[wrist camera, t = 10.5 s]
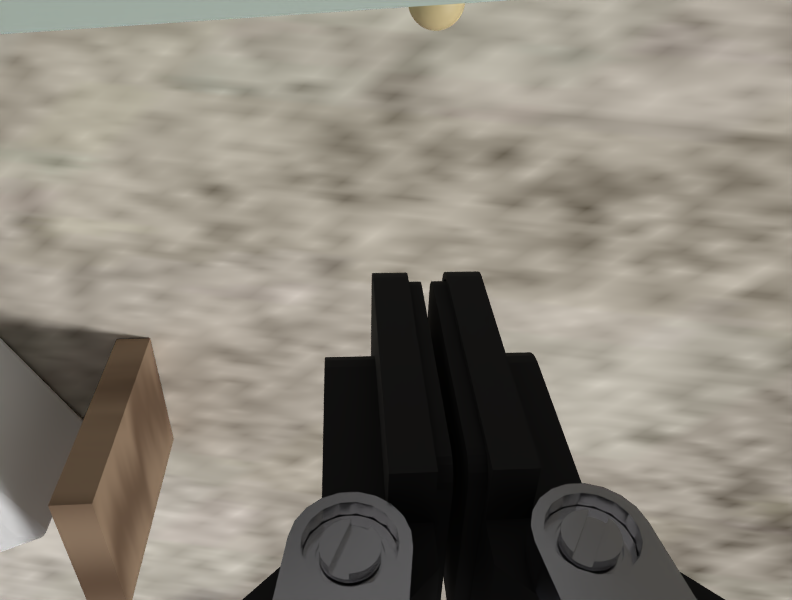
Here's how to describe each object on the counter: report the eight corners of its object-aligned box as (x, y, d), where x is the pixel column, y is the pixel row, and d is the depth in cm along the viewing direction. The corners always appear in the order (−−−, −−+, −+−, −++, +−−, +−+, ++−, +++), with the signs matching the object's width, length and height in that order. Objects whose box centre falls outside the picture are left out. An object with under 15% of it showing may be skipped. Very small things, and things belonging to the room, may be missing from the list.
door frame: (-70, -354, 20) (-354, -467, 12) (-11, -351, 20) (-253, -463, 12) (143, 439, 38) (91, 611, 30) (173, 438, 38) (129, 609, 30)
